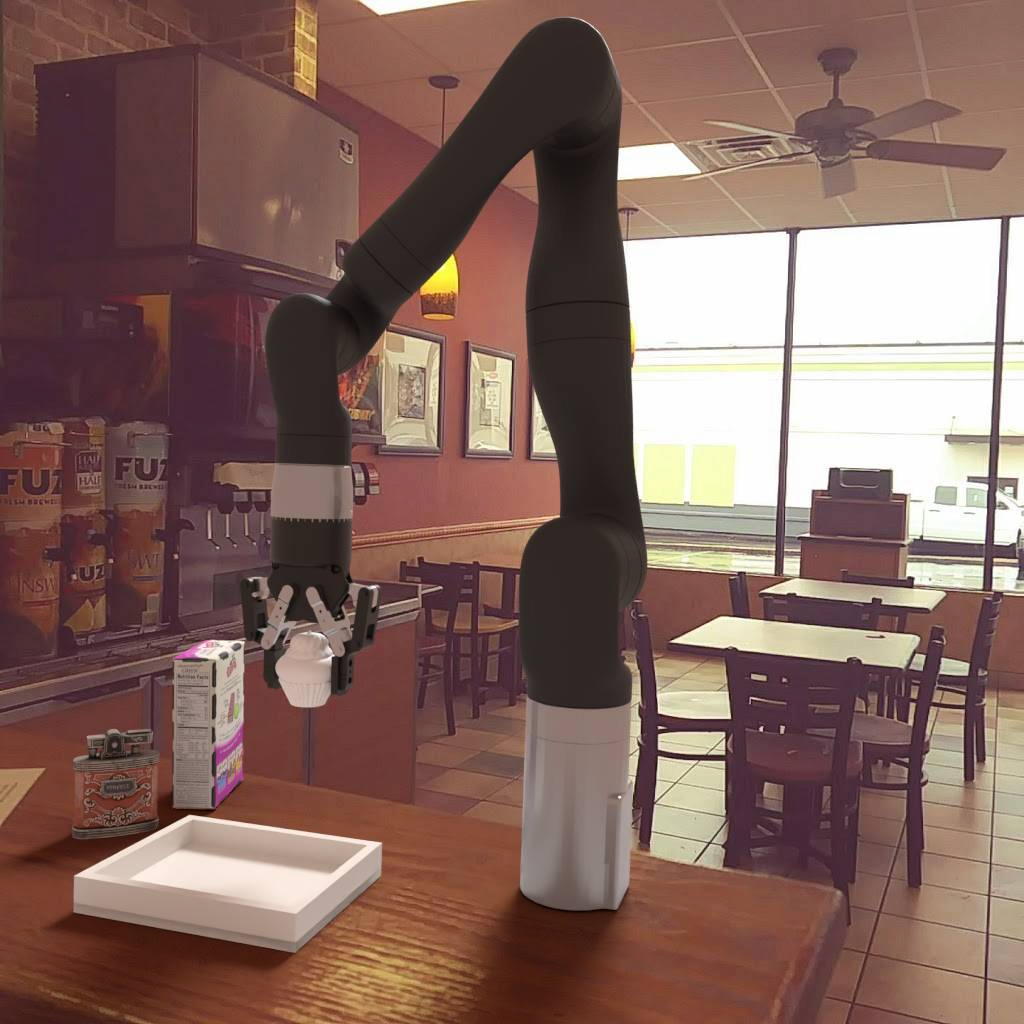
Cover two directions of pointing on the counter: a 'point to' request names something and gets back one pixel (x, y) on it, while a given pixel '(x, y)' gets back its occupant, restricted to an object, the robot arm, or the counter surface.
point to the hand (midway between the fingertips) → (307, 690)
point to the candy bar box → (207, 723)
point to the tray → (231, 881)
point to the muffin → (306, 670)
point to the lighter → (116, 786)
